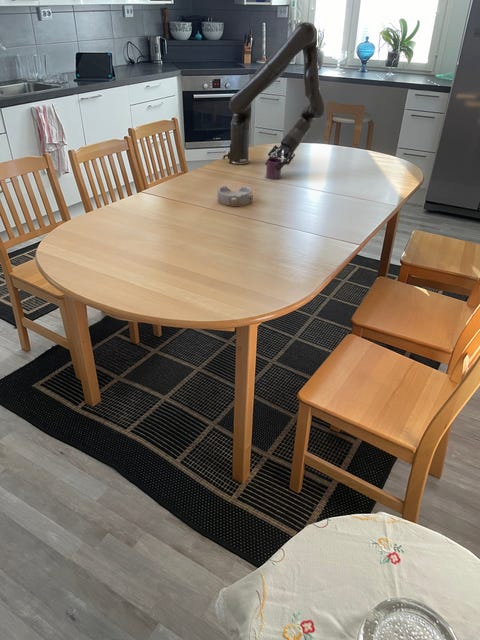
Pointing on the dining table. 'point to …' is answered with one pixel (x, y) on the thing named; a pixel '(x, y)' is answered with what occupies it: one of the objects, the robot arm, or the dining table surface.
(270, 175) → the cup
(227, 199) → the dish
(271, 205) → the dining table surface
